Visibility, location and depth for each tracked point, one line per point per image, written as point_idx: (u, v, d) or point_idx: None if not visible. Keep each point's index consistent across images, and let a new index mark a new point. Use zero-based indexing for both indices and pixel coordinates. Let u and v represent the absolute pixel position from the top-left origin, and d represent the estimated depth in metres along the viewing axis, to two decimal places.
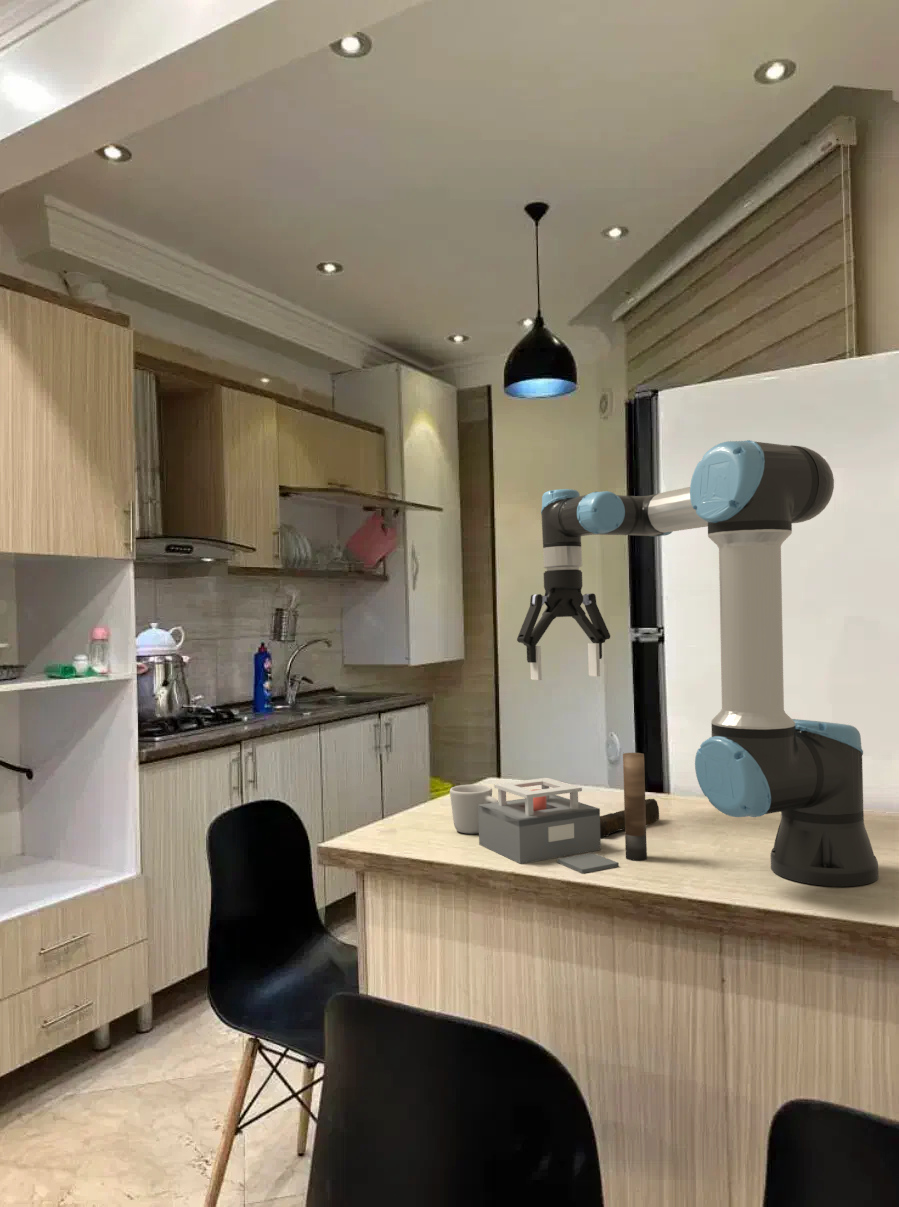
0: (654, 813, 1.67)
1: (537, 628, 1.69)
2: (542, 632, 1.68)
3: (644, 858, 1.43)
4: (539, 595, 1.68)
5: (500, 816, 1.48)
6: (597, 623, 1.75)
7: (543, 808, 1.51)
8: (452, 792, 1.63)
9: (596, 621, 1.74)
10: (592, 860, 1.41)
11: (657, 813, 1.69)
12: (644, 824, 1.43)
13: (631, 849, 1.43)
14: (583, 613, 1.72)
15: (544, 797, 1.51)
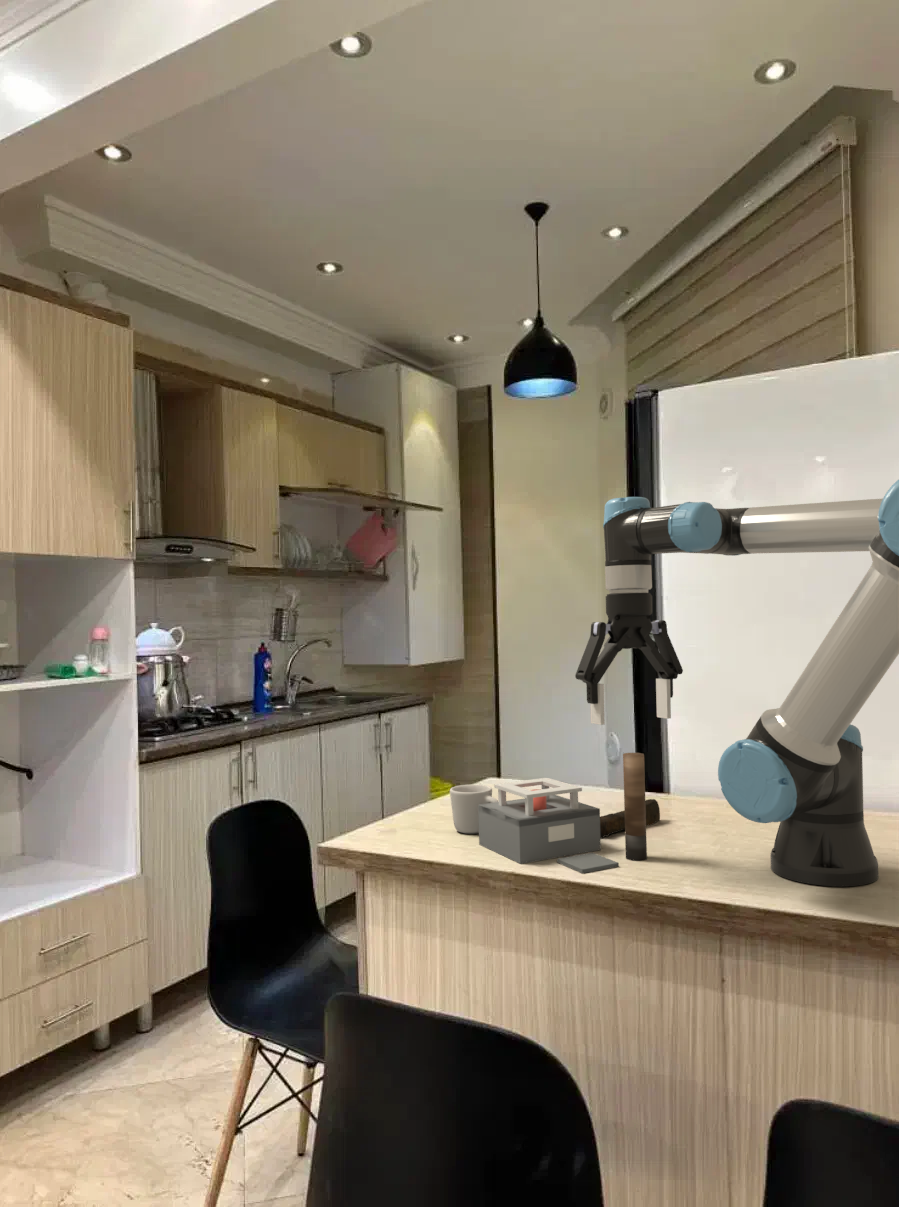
0: (655, 813, 1.67)
1: (599, 662, 1.42)
2: (605, 667, 1.41)
3: (644, 858, 1.43)
4: (602, 623, 1.41)
5: (500, 816, 1.48)
6: (667, 656, 1.48)
7: (543, 808, 1.51)
8: (452, 792, 1.63)
9: (667, 653, 1.47)
10: (592, 860, 1.41)
11: (658, 813, 1.69)
12: (644, 824, 1.43)
13: (631, 849, 1.43)
14: (652, 644, 1.44)
15: (544, 797, 1.51)
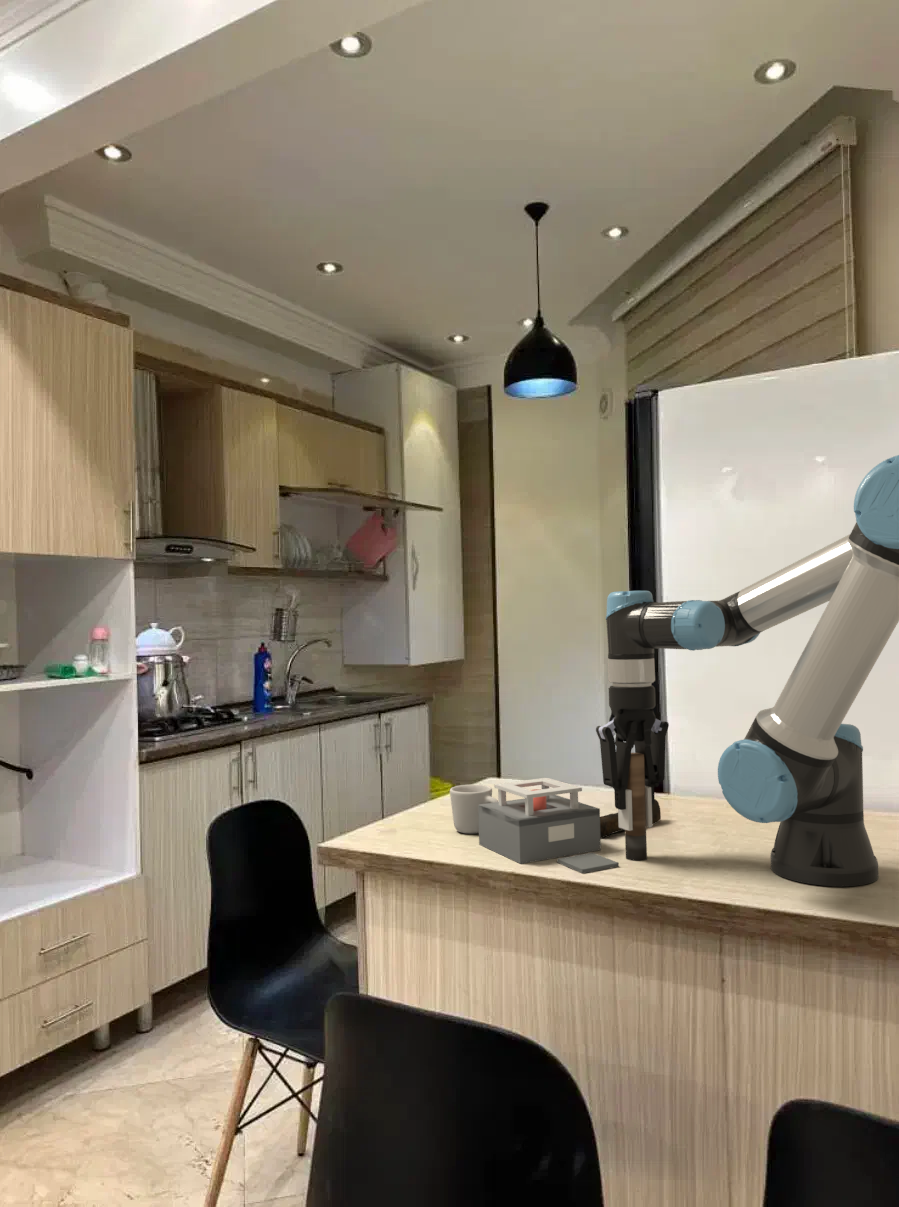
0: (655, 814, 1.67)
1: (619, 767, 1.43)
2: (626, 770, 1.42)
3: (644, 858, 1.43)
4: (606, 729, 1.40)
5: (500, 816, 1.48)
6: (656, 757, 1.46)
7: (543, 808, 1.51)
8: (452, 792, 1.63)
9: (657, 755, 1.46)
10: (592, 860, 1.41)
11: (658, 814, 1.68)
12: (644, 824, 1.43)
13: (631, 849, 1.43)
14: (649, 742, 1.44)
15: (544, 797, 1.51)
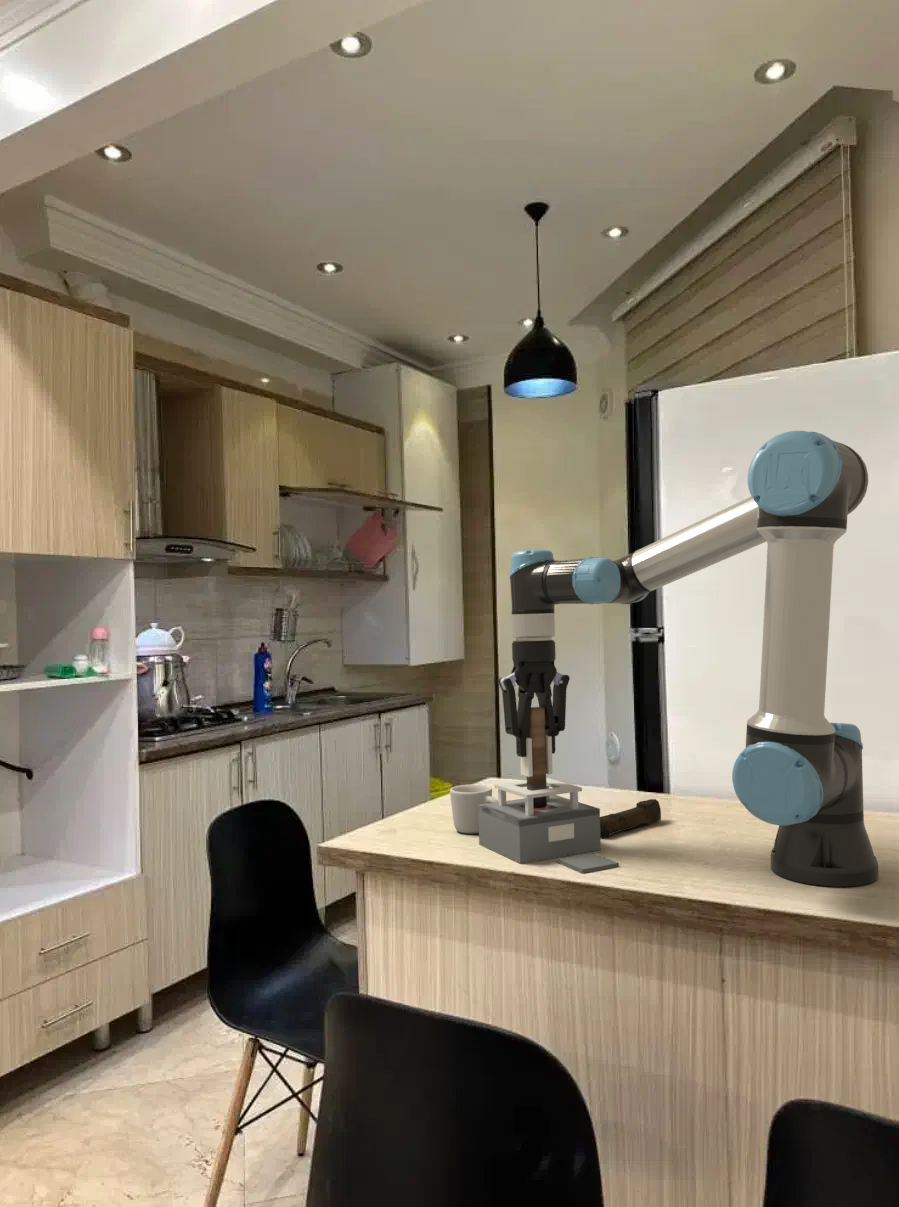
0: (656, 813, 1.67)
1: (520, 716, 1.51)
2: (527, 719, 1.50)
3: (543, 805, 1.51)
4: (507, 680, 1.49)
5: (500, 816, 1.48)
6: (557, 709, 1.54)
7: None
8: (452, 792, 1.63)
9: (558, 706, 1.54)
10: (592, 860, 1.41)
11: (659, 813, 1.68)
12: (544, 773, 1.51)
13: None
14: (549, 693, 1.52)
15: None
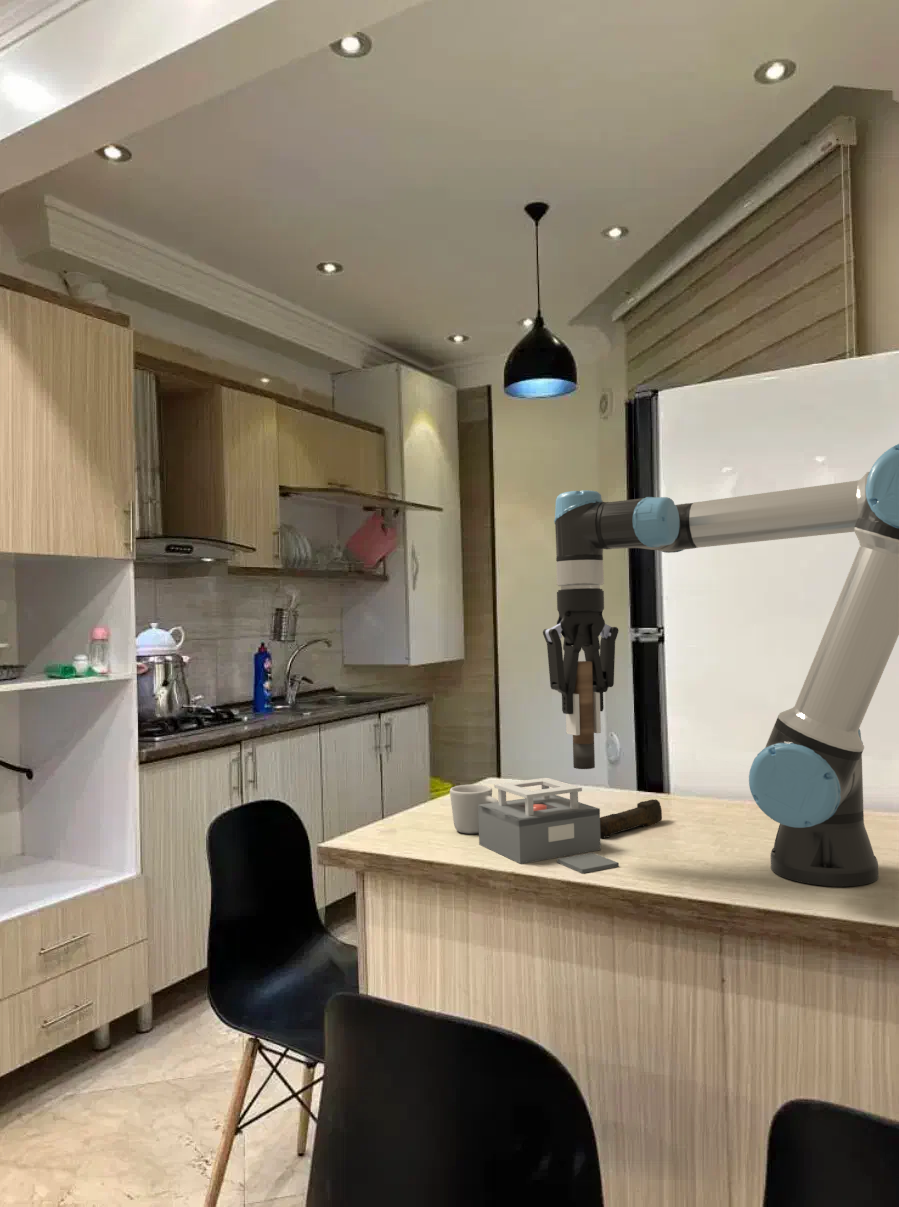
0: (657, 814, 1.67)
1: (566, 670, 1.40)
2: (574, 673, 1.39)
3: (591, 767, 1.40)
4: (552, 631, 1.37)
5: (500, 816, 1.48)
6: (605, 663, 1.43)
7: None
8: (452, 792, 1.63)
9: (606, 660, 1.43)
10: (592, 860, 1.41)
11: (660, 814, 1.68)
12: (592, 732, 1.40)
13: (579, 758, 1.40)
14: (597, 646, 1.41)
15: None
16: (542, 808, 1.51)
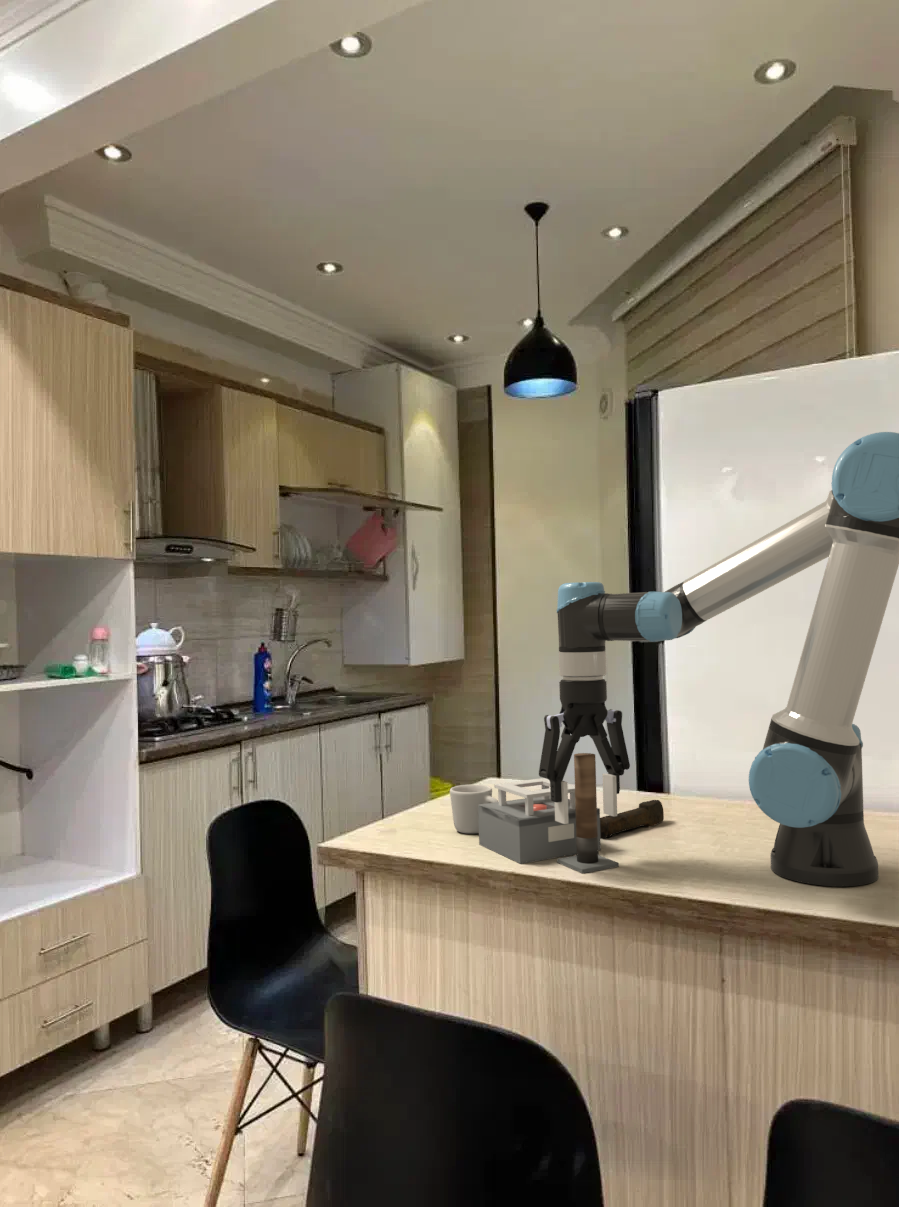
0: (658, 814, 1.66)
1: (559, 758, 1.39)
2: (566, 762, 1.38)
3: (595, 861, 1.40)
4: (554, 718, 1.37)
5: (500, 816, 1.48)
6: (617, 748, 1.43)
7: None
8: (452, 792, 1.63)
9: (617, 745, 1.43)
10: None
11: (661, 814, 1.68)
12: (595, 826, 1.40)
13: (582, 852, 1.40)
14: (604, 734, 1.41)
15: None
16: (542, 808, 1.51)
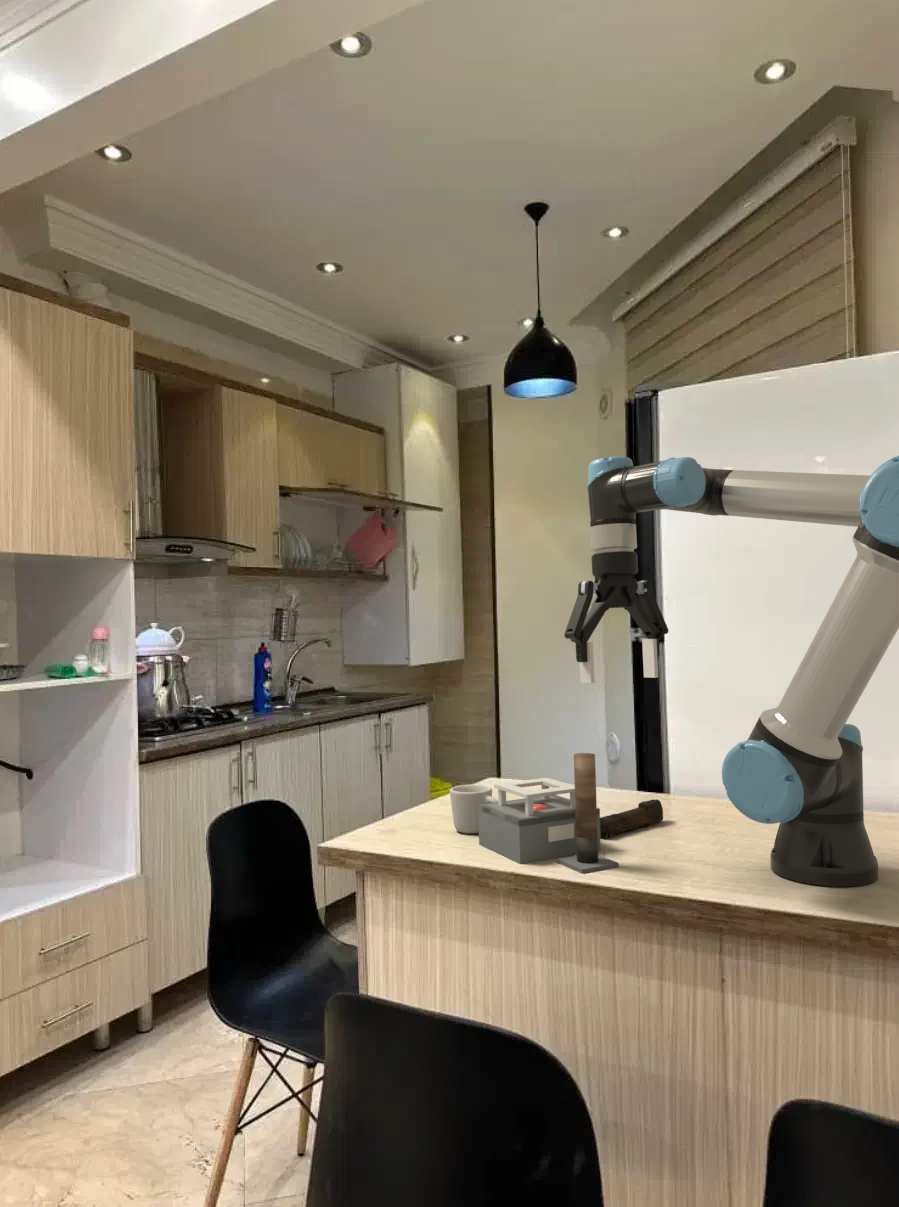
0: (658, 814, 1.66)
1: (587, 621, 1.42)
2: (593, 625, 1.41)
3: (595, 861, 1.40)
4: (590, 582, 1.41)
5: (500, 816, 1.48)
6: (653, 615, 1.48)
7: None
8: (452, 792, 1.63)
9: (652, 613, 1.48)
10: None
11: (661, 814, 1.68)
12: (595, 826, 1.40)
13: (582, 852, 1.40)
14: (639, 603, 1.45)
15: None
16: (542, 808, 1.51)
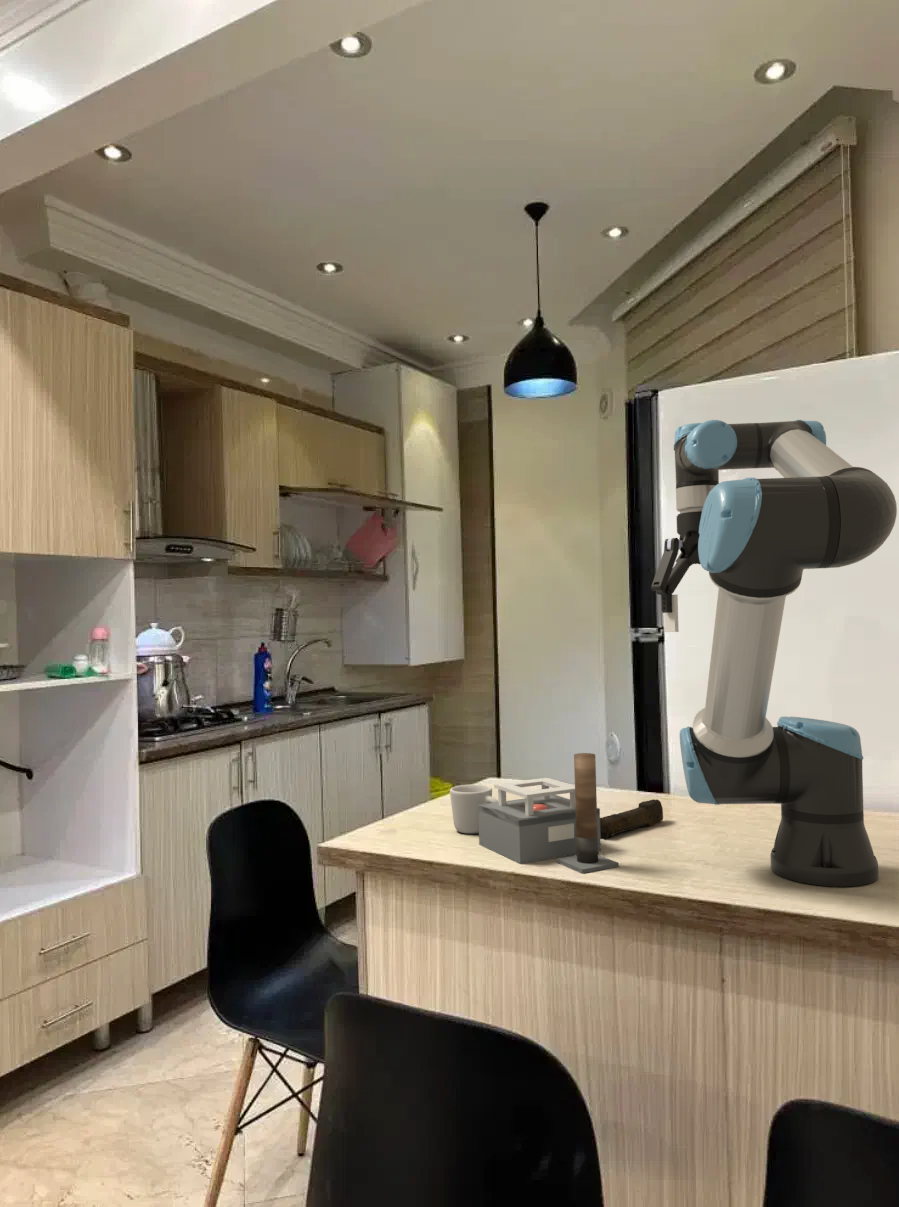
0: (658, 814, 1.66)
1: (672, 575, 1.54)
2: (678, 579, 1.53)
3: (595, 861, 1.40)
4: (676, 539, 1.53)
5: (500, 816, 1.48)
6: None
7: None
8: (452, 792, 1.63)
9: None
10: None
11: (661, 814, 1.68)
12: (595, 826, 1.40)
13: (582, 852, 1.40)
14: None
15: None
16: (542, 808, 1.51)
